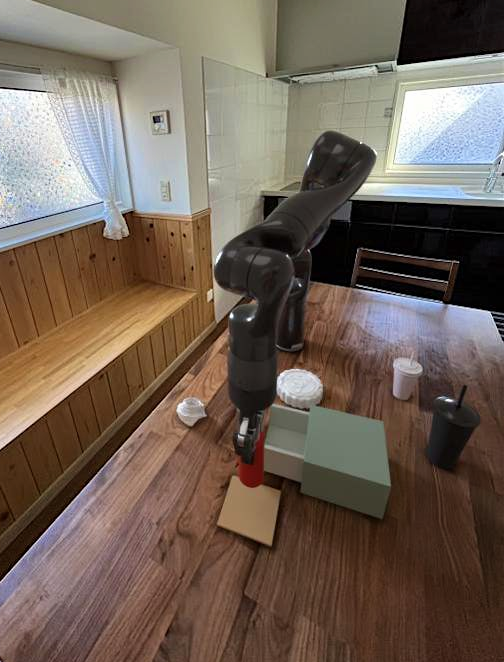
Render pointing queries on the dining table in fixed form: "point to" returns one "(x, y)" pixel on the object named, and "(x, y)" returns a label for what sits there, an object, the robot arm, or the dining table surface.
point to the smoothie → (405, 376)
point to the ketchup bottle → (254, 473)
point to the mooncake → (299, 388)
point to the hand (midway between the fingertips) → (251, 449)
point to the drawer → (285, 442)
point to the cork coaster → (250, 511)
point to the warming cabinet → (346, 461)
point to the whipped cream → (190, 411)
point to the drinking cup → (451, 429)
